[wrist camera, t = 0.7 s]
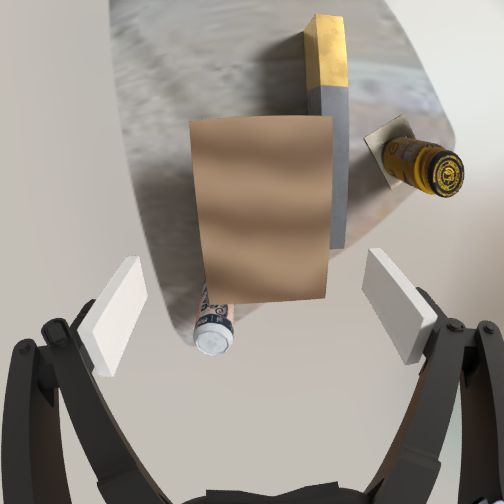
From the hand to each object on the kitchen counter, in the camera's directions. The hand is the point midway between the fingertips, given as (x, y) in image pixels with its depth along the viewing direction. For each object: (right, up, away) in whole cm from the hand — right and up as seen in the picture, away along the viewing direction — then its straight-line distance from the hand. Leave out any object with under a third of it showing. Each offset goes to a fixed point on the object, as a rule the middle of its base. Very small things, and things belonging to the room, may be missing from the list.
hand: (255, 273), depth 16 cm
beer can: (-5, -4, +28) cm, 29 cm away
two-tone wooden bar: (+8, +17, +18) cm, 26 cm away
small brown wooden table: (+1, +9, +21) cm, 23 cm away
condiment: (+20, +15, +19) cm, 32 cm away
